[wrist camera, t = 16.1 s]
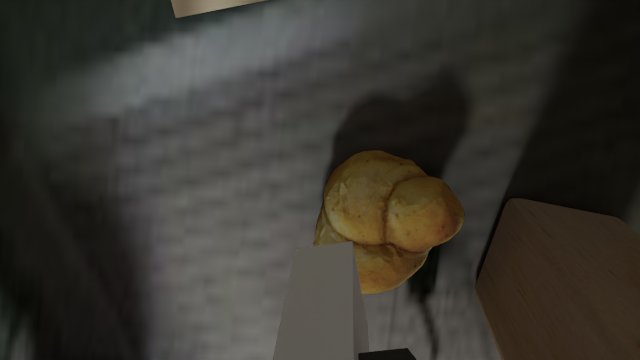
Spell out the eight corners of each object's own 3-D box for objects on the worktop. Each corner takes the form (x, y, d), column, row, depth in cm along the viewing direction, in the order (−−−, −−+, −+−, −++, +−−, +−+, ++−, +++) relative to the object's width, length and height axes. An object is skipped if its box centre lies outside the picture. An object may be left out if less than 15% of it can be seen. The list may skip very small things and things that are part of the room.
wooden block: (504, 191, 40) (641, 368, 21) (622, 214, 40) (862, 410, 21) (468, 290, 43) (557, 516, 25) (576, 311, 43) (745, 551, 25)
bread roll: (386, 290, 44) (393, 351, 36) (289, 248, 43) (276, 303, 35) (459, 172, 39) (484, 214, 32) (352, 122, 38) (352, 154, 31)
